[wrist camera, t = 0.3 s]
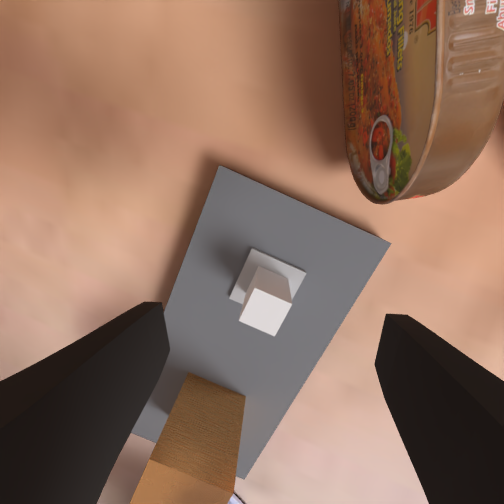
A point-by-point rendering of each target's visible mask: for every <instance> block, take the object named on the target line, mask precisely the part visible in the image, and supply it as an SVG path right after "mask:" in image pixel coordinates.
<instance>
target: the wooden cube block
mask: <svg viewBox="0 0 504 504" xmlns="http://www.w3.org/2000/svg"><path fill="white" fill-rule="evenodd" d="M245 400H246V396H244V395H241V394H239V393H237V392H234V391H232V390H230V389H227V388H225V387H223V386H220V385H218V384H216V383H213V382H211V381H208V380H206V379H204V378H201V377H199V376H197V375H194V374H192V373H190V372H188V375H187V377H186V379H185V381H184V383H183V386H182V388H181V390H180V392H179V394H178V397H177V399H176V401H175V403H174V406H173V408H172V410H171V412H170V414H169V417H168V419H167V421H166V423H165V425H164V428H163V430H162V432H161V434H160V437H159V439H158V441H157V443H156V445H155V448H154V450H153V452H152V454H151V456H150V459H149V461H148V463H147V465H146V468H145V470H144V472H143V474H142V477H141V479H140V481H139V483H138V486H137V488H136V490H135V492H134V495H133V497H132V499H131V501H130V504H227V503H228V502H229V500H230V498H231V497H232V495H233V492H234V485H235V477H236V469H237V461H238V454H239V446H240V438H241V431H242V423H243V415H244V408H245Z"/></svg>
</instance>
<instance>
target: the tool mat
mask: <svg viewBox="0 0 504 504" xmlns="http://www.w3.org/2000/svg"><path fill="white" fill-rule="evenodd" d="M390 245H391V243H389V242H387V241H385V240H383V239H381V238H379V237H377V236H375V235H373V234H370V233H368V232H366V231H364V230H362V229H360V228H357V227H355V226H353V225H351V224H349V223H346V222H344V221H342V220H340V219H338V218H335V217H333V216H331V215H329V214H327V213H324V212H322V211H320V210H318V209H316V208H314V207H311V206H309V205H307V204H305V203H303V202H300V201H298V200H296V199H294V198H292V197H289V196H287V195H285V194H283V193H281V192H279V191H276V190H274V189H272V188H270V187H268V186H265V185H263V184H261V183H259V182H257V181H254V180H252V179H250V178H248V177H246V176H243V175H241V174H239V173H237V172H235V171H233V170H230V169H228V168H226V167H224V166H221V165H219V168H218V170H217V173H216V176H215V178H214V181H213V183H212V186H211V189H210V191H209V194H208V197H207V199H206V202H205V205H204V207H203V210H202V213H201V215H200V218H199V221H198V223H197V226H196V229H195V231H194V234H193V237H192V239H191V242H190V244H189V247H188V250H187V252H186V255H185V258H184V260H183V263H182V266H181V268H180V271H179V274H178V276H177V279H176V282H175V284H174V287H173V290H172V292H171V295H170V298H169V300H168V303H167V305H166V308H165V311H164V317H165V323H166V328H167V334H168V339H169V345H170V352H169V355H168V358H167V360H166V363H165V366H164V368H163V371H162V373H161V376H160V378H159V380H158V382H157V384H156V386H155V388H154V390H153V392H152V394H151V396H150V398H149V399H148V401H147V403H146V405H145V407H144V409H143V411H142V413H141V414H140V416H139V418H138V420H137V422H136V424H135V426H134V427H133V429H132V431H131V433H133V434H135V435H138V436H140V437H143V438H145V439H147V440H150V441H152V442H155V443H157V441H158V439H159V437H160V434H161V432H162V430H163V428H164V425H165V423H166V421H167V419H168V417H169V414H170V412H171V410H172V408H173V406H174V403H175V401H176V399H177V397H178V394H179V392H180V390H181V388H182V386H183V383H184V381H185V379H186V377H187V375H188V372H190V373H192V374H194V375H197V376H199V377H201V378H204V379H206V380H208V381H211V382H213V383H216V384H218V385H220V386H223V387H225V388H227V389H230V390H232V391H234V392H237V393H239V394H241V395H244V396H246V400H245V408H244V415H243V423H242V431H241V438H240V446H239V454H238V461H237V469H236V476H237V477H239V478H242V479H245V478H246V476H247V475H248V473H249V471H250V470H251V468H252V466H253V465H254V463H255V462H256V460H257V458H258V457H259V455H260V454H261V452H262V450H263V449H264V447H265V446H266V444H267V442H268V441H269V439H270V438H271V436H272V434H273V433H274V431H275V430H276V428H277V426H278V425H279V423H280V422H281V420H282V418H283V417H284V415H285V413H286V412H287V410H288V409H289V407H290V405H291V404H292V402H293V401H294V399H295V397H296V396H297V394H298V393H299V391H300V389H301V388H302V386H303V385H304V383H305V381H306V380H307V378H308V377H309V375H310V373H311V372H312V370H313V369H314V367H315V365H316V364H317V362H318V360H319V359H320V357H321V356H322V354H323V352H324V351H325V349H326V348H327V346H328V344H329V343H330V341H331V340H332V338H333V336H334V335H335V333H336V332H337V330H338V328H339V327H340V325H341V324H342V322H343V320H344V319H345V317H346V316H347V314H348V312H349V311H350V309H351V307H352V306H353V304H354V303H355V301H356V299H357V298H358V296H359V295H360V293H361V291H362V290H363V288H364V287H365V285H366V283H367V282H368V280H369V279H370V277H371V275H372V274H373V272H374V271H375V269H376V267H377V266H378V264H379V263H380V261H381V259H382V258H383V256H384V254H385V253H386V251H387V250H388V248H389V246H390Z"/></svg>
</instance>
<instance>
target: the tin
mask: <svg viewBox="0 0 504 504" xmlns="http://www.w3.org/2000/svg"><path fill="white" fill-rule="evenodd" d="M339 20H340V39H341V57H342V76H343V99H344V116H345V136H346V148H347V154H348V159H349V164H350V168H351V172H352V175H353V178H354V180H355V182H356V184H357V186H358V188H359V189H360V191H361V193H362V194H363V195H364V196H365V197H366V198H367V199H368V200H370V201H371V202H373V203H375V204H388V203H391V202H393V201H396V200H403V199H410V198H417V197H423V196H427V195H431V194H434V193H436V192H439V191H441V190H443V189H445V188H447V187H448V186H450V185H452V184H453V183H454V182H456V181H457V180H458V179H459V178H460V177H461V176H462V175H463V174H464V173H465V172H466V171H467V170H468V169H469V168H470V166H471V165H472V164H473V163H474V162H475V160H476V159H477V157H478V156H479V155H480V153H481V151H482V150H483V148H484V147H485V145H486V143H487V141H488V139H489V137H490V135H491V133H492V131H493V129H494V127H495V124H496V122H497V119H498V116H499V114H500V110H501V107H502V104H503V100H504V0H339Z"/></svg>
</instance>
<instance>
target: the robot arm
mask: <svg viewBox="0 0 504 504" xmlns="http://www.w3.org/2000/svg"><path fill="white" fill-rule="evenodd" d="M169 352H170V345H169V339H168V334H167V328H166V323H165V317H164V312H163V307H162V303H161V302H143V303H141V304H139V305H137V306H135V307H133V308H132V309H130V310H128V311H126V312H125V313H123V314H121V315H120V316H118V317H116V318H115V319H113V320H111V321H110V322H108V323H106V324H104V325H103V326H101V327H99V328H98V329H96V330H94V331H93V332H91V333H89V334H88V335H86V336H84V337H82V338H81V339H79V340H77V341H75V342H74V343H72V344H70V345H68V346H66V347H65V348H63V349H61V350H59V351H57V352H56V353H54V354H52V355H50V356H48V357H47V358H45V359H43V360H41V361H39V362H37V363H36V364H34V365H32V366H30V367H28V368H26V369H24V370H22V371H20V372H18V373H16V374H14V375H12V376H10V377H8V378H6V379H4V380H2V381H0V504H97V501H98V499H99V497H100V495H101V492H102V490H103V488H104V485H105V483H106V481H107V479H108V476H109V474H110V472H111V470H112V468H113V466H114V464H115V462H116V460H117V458H118V456H119V454H120V452H121V450H122V448H123V446H124V444H125V442H126V441H127V439H128V437H129V435H130V433H131V431H132V429H133V427H134V426H135V424H136V422H137V420H138V418H139V416H140V414H141V413H142V411H143V409H144V407H145V405H146V403H147V401H148V399H149V398H150V396H151V394H152V392H153V390H154V388H155V386H156V384H157V382H158V380H159V378H160V376H161V373H162V371H163V368H164V366H165V363H166V360H167V358H168V355H169ZM375 367H376V371H377V375H378V378H379V382H380V385H381V388H382V392H383V395H384V398H385V400H386V403H387V405H388V408H389V410H390V412H391V415H392V417H393V420H394V422H395V424H396V427H397V429H398V431H399V434H400V436H401V438H402V441H403V443H404V445H405V448H406V450H407V452H408V455H409V457H410V459H411V462H412V464H413V466H414V469H415V471H416V473H417V476H418V478H419V480H420V483H421V485H422V487H423V490H424V492H425V495H426V497H427V500H428V502H429V504H504V381H503V380H501V379H500V378H498V377H497V376H495V375H494V374H492V373H491V372H489V371H488V370H486V369H485V368H483V367H482V366H481V365H479V364H478V363H476V362H475V361H473V360H472V359H470V358H469V357H468V356H466V355H465V354H463V353H462V352H460V351H459V350H458V349H456V348H455V347H453V346H452V345H451V344H449V343H448V342H446V341H445V340H444V339H442V338H441V337H439V336H438V335H436V334H435V333H434V332H432V331H431V330H429V329H428V328H426V327H425V326H424V325H422V324H421V323H419V322H418V321H416V320H415V319H413V318H412V317H410V316H408V315H402V314H386V316H385V320H384V325H383V329H382V333H381V338H380V342H379V347H378V351H377V355H376V360H375ZM227 504H243V503H242V502H241V501H240V500H239V499H238V498H237V497H236V495H235V494H234V493H233V495H232V497H231V498H230V500H229V502H228V503H227Z"/></svg>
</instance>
